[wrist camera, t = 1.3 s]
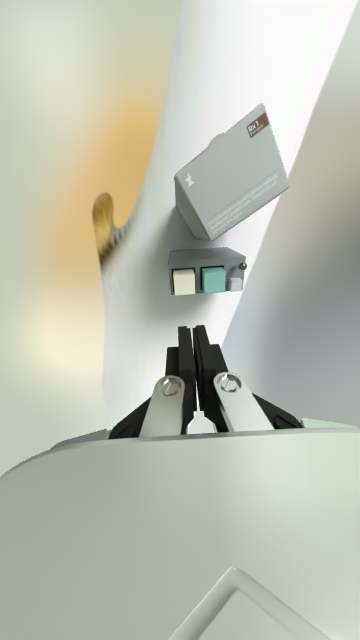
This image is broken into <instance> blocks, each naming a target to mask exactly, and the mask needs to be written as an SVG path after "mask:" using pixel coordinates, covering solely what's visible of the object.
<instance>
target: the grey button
mask: <svg viewBox="0 0 360 640" xmlns="http://www.w3.org/2000/svg"><path fill="white" fill-rule="evenodd" d="M228 289H229V290H230V291H231V292H233V291H242V280H241V279H240V278H229V284H228Z"/></svg>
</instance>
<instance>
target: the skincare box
mask: <svg viewBox="0 0 360 640" xmlns="http://www.w3.org/2000/svg"><path fill="white" fill-rule="evenodd" d="M174 180H175V197H176V206H177V208H178V210H179V212H180V213H181V215H182V217H183V218H184V220H185V222H186V223H187V225H188V227H189V229H190V230H191V232H192V234H193V236H194V237H195V239H200V240H208V241H213V240H215V239H216V238H218V237H219V236H221V235H222V234H224V233H225V232H227V231H228V230H230V229H231V228H232V227H234V226H235V225H237V224H238V223H240V222H241V221H243V220H244V219H246V218H247V217H249V216H250V215H252V214H253V213H254V212H256V211H257V210H259V209H260V208H262V207H263V206H264V205H266V204H267V203H269V202H270V201H272V200H273V199H274V198H276V197H277V196H279V195H280V194H281V193H283V192H284V191H285V190H287V189H288V188H289V187H290V184H289V181H288V178H287V175H286V172H285V169H284V166H283V163H282V159H281V156H280V153H279V150H278V147H277V144H276V141H275V138H274V135H273V131H272V128H271V125H270V122H269V119H268V116H267V113H266V110H265V107H264V104H263V103H260V104H259V105H258V106H257V107H256V108H255V109H253V110H252V111H251V112H250V113H249V114H247V115H246V116H245V117H244V118H243V119H241V120H240V121H239V122H238V123H237V124H235V125H234V126H233V127H232V128H231V129H229V130H228V131H227V132H226V133H222V134H219V135H217V136H216V137H215V138H214V139H213V140H212V141H211V142H210V144H209V145H208V147H207V148H206V149H205V150H204V151H202V152H201V153H200V154H199V155H198V156H196V157H195V158H194V159H193V160H192V161H190V162H189V163H188V164H187V165H186V166H184V167H183V168H182V169H181V170H180V171H178V172H177V173H176V175H175V177H174Z"/></svg>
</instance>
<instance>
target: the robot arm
mask: <svg viewBox="0 0 360 640" xmlns="http://www.w3.org/2000/svg"><path fill="white" fill-rule="evenodd" d="M178 339H179V347H168V348H167V359H166V372H165V377H163V378H161V379H160V380H159V381H158V382H157V383H156V385H155V388H154V391H153V394H152V396H151V397H150V398H149V399H148V400H146V401H145V402H144V403H143V404H141V405H140V406H139V407H138V408H137V409H135V410H134V411H133V412H132V413H130V414H129V415H128V416H127V417H125V418H124V419H123V420H122V421H120V422H119V423H118V424H117V425H116V426H115V427H114V428H113V429H112V430H109V431H107V429H104V430H100V431H97V432H93V433H90V434H86V435H83V436H79V437H76V438H72V439H68V440H65V441H62V442H60V443H58V444H56V445H55V446H53V447H52V448H51V449H50V450H48V451H45V452H42V453H40V454H38V455H36V456H33V457H31V458H29V459H27V460H25V461H23V462H21V463H19V464H18V465H16V466H14V467H13V468H11V469H10V470H9V471H7V472H6V473H5V474H3V475H2V476H1V477H0V640H360V428H358V427H356V426H352V425H348V424H342V423H335V422H329V421H321V420H315V419H308V418H301V419H300V420H298V419H296V418H295V417H294V416H292V415H291V414H289V413H287V412H285V411H284V410H282V409H280V408H278V407H277V406H275V405H273V404H271V403H269V402H267V401H266V400H264V399H262V398H260V397H258V396H256V395H255V394H253V393H251V392H250V390H249V389H248V387H247V385H246V384H245V382H244V381H243V379H242V378H241V377H240V376H238V375H237V374H234V373H231V372H228V369H227V366H226V363H225V361H224V358H223V355H222V352H221V349H220V346H219V344H212V345H210V344H209V340H208V336H207V333H206V329H205V326H204V325H198V326H196V328H193V347H192V339H191V332H190V328H187V326H183V327H178ZM193 350H194V355H193ZM196 383H197V391H198V399H199V407H200V411H204V416H205V417H207V418H208V419H209V420H211V421H212V422H213V428H214V431H215V433H204V434H187V432H188V424H189V423H190V422H191V421H192V419H193V418H194V412H193V411H197V399H196Z"/></svg>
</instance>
